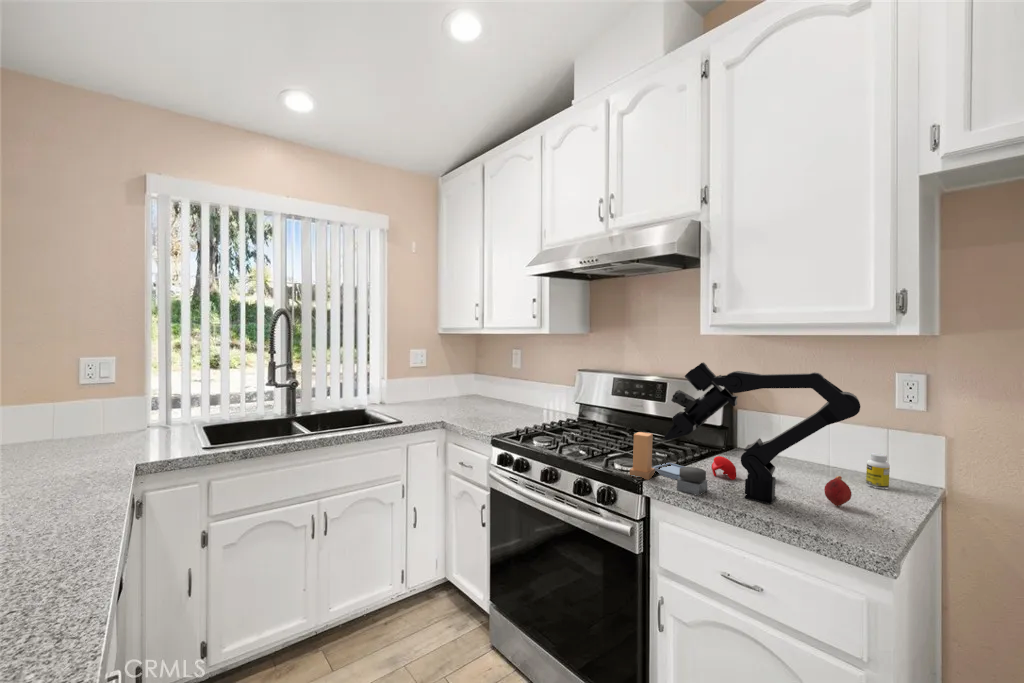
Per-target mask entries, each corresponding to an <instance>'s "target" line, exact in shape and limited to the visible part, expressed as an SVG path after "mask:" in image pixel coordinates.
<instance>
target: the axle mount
mask: <svg viewBox="0 0 1024 683" xmlns="http://www.w3.org/2000/svg"><path fill="white" fill-rule="evenodd" d="M708 481H709V480H708V479H706V480H705V481H696V482H693V481H689V480H685V479H682V478H679V479H677V480H676V490H677V491H680V492H684V493H686V494H687V493H688V494H692V495H695V494H696V495H695V496H698V495H699V496H700V495H702V494H703V492H704V491H705V492H707V491H708ZM706 490H707V491H706ZM705 492H704V493H705ZM701 493H702V494H701Z"/></svg>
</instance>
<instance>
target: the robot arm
mask: <svg viewBox="0 0 1024 683" xmlns="http://www.w3.org/2000/svg"><path fill="white" fill-rule="evenodd" d="M684 378H685V379H686V380H687V381H688V382H689V384H691V385H692V387H693V388H694V389H696V391H699V392H701V391H702V392H705V391H706V392H705V393H704V394H703V395H702V396H700V397H698V398H695V397H693V396H692V395H690V394H688V393H685V392H684V391H682V390H680V389H678V390H676V391H675V392H674V394H673V395H672V397H671V402H673V403H674V404H677V405H679V406H681V407H683V408H684V409H683V410H684V411H679V412H677V413H676V414H674V415H673V416H672V426H671V427H670V429H669V430H668V431H667V432H666V434H665V435H664V436H663V438H664V440H665V441H669V440H672V439H676V438H680V437H684V436H687V435H690V434H692V433H693V432H694V431H695V430H697V428H699V427H701V426H703V425H704V424H705V423H706V422H707V420H708V419H710V417H712V416H713V415H714V414H715V413H717V412H718V411H720V409H722V408H723V407H724V406H725V405H727V404H728V403H729V404H730V405H731V406H732V407H735V406H737V405H738V396H737V395H734V394H739V393H744V392H751V391H755V390H762V389H763V390H764V389H812V390H814V391H815V392H816V393H817V394H818V395H820V396H821V397H822V398H823V399H824V400H825V401H826V403H824V405H822V407H820V408H819V409H818V410H817V411H816V412H815V413H813V414H811V415H810V416H807V417H806V418H804V419H803V420H802V421H800V422H798V423H796V424H794V425H793V426H792V427H791V426H790V427H789V428H788V429H786V430H784V431H783V432H782V433H780V434H778V435H776V436H774V437H773V438H771V439H769V440H766V441H763V440H762V438H761V437H759V438H758V439H757V440H756V441H754V442H753V443H751V444H747V446H745V448H744V449H743V451H744V452H743V453H742V454H741V456H740V464H741V465H742V467H743V468H744V470H746V471H747V478H746V479H745V480H744V494H745V495H744V498H745V499H748V500H752V501H756V502H760V503H765V504H768V505H771V504H773V502H775V501H776V500H778V499H777V498H778V497H777V496H776V476H773V475H774V473H775V470H776V466H775V465H774V464H773V463H772V460H774V459H775V458H776V457H777V456H778V455H779V454H780V453H782V452H784V451H785V450H787V449H789V448H791V447H792V446H794V445H797V444H798V443H800V442H801V441H802V440H804V439H806V438H807V437H810V436H812V435H813V434H815V433H816V432H818V431H820V430H821V429H823V428H825V427H827V426H830V425H832V424H836V423H839V422H843V421H845V420H847V419H851V418H854V417H855V416H857V414H859V413H860V410H861V403H860V401H859V398H858V397H857V395H855V394H854V393H852V392H849V391H843V390H842V389H841V388H840V387H838V386H836V385H835V384H833V383H832V381H830V380H828V379H827V378H825V377H824V375H822V373H819V372H815V371H814V372H811V373H777V374H775V373H772V374H763V373H762V374H761V373H755V372H750V371H749V372H748V371H742V370H736V371H732V372H729V373H727V374H726V375H722V374H720V375H716V374H715V373H714V372H713V371H712V370H711V369H710V368H709V366H708V365H707V364H706V363H705V362H700V364H698V365H697V366H695V367H694V368H693V369H689V371H688V372H687V373H686V374H685V375H684ZM712 386H713V387H712ZM710 387H711V388H710ZM708 389H709V390H708Z"/></svg>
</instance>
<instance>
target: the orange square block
mask: <svg viewBox="0 0 1024 683" xmlns="http://www.w3.org/2000/svg"><path fill="white" fill-rule="evenodd" d="M653 435H654V434H653V433H650V432H644V431H643V432H642V431H638V432H636V433H634V434H633V444H632V445H633V450H632V467H630V469H629V471H628V472H629V474H630V475H635V476H640V477H642V478H644V479H643V480H646V481H647V480H648V481H649V480H650V479H651V478H653V477H654V476H655V475H654V473H655V469H654V468H652V467H653V465H652V464H653V440H654V439H653ZM655 474H656V473H655ZM653 475H654V476H653ZM652 476H653V477H652ZM642 478H641V479H642Z"/></svg>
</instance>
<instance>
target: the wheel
mask: <svg viewBox="0 0 1024 683" xmlns="http://www.w3.org/2000/svg"><path fill="white" fill-rule="evenodd" d="M679 476H680V477H681V478H682V479H685V480H689V481H693V482H696V481H705V480H707V472H706V470H705V469H703V468H699V467H695V466H684V467H682V468H680V474H679Z"/></svg>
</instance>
